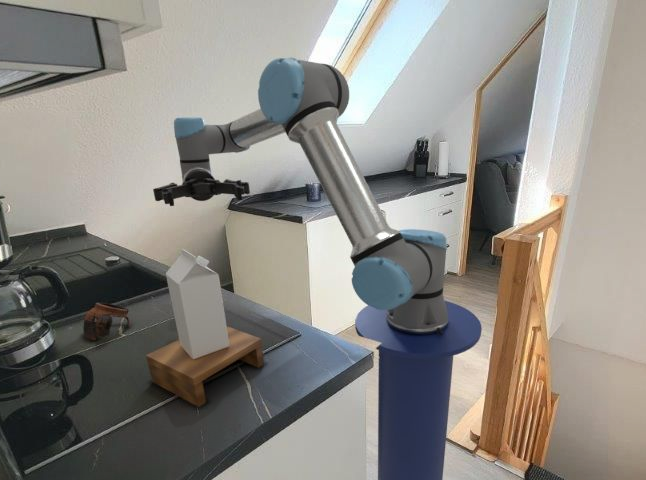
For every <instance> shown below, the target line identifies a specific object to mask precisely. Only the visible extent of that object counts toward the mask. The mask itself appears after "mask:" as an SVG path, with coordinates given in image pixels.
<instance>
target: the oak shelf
mask: <svg viewBox="0 0 646 480" xmlns="http://www.w3.org/2000/svg"><path fill="white" fill-rule="evenodd" d="M227 332H228V339H229V347H227V348H224V349H221V350H218V351H216V352H213V353H210V354H207V355H204V356H202V357H199V358H196V359H192V358H191V357H190V356H189V354H188V353H187V352H186V351H185V350H184V349H183V348H182V347H181V345H180V341H179V339H176V340H174V341H173V342H171V343H169V344H167V345H164V346H162V347H161V348H159V349H156V350H154V351H152V352H150V353H147V354H146V355H145V358H146V362H147V365H148V371H149V374H150V377H151V381H152V383H153V384H155V385H157V386H159V387H160V388H163V389H165V390H166V391H168V392H169V393H172V394H174V395H175V396H177V397H179V398H181V399H183V400H185V401H186V402H188V403H191V404H192V405H194V406H196V407H198V408H200V407H201V406H203V405H204V404H206V403H207V399H206V395H205V394H206V393H205V389H204V383H203V381H205V380H207V379H208V378H209V377H211V376H213V375H214V374H216V373H218V372H220V371H221V370H223V369H225V368H226V367H228V366H229V365H231V364H233V363H234V362H237V361H238V360H239V361H241V362H243V363H246V364H249V365H251V366H252V367H253V366H254V367H256V368H260V367H262V366H264V365H265V361H264V352H263V343H262V338H261V337H258V336H255V335H252V334H249V333H246V332H243V331H240V330H238V329H236V328H234V327H233V328H232V327H231V326H227Z"/></svg>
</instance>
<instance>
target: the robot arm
mask: <svg viewBox="0 0 646 480" xmlns="http://www.w3.org/2000/svg"><path fill="white" fill-rule="evenodd" d="M345 77H346V76H344V74H342V72H341V71H340V70H339V69H338V68H336V67H335V66H333V65H331V64H327V63H320V62H314V61H308V60H304V59H297V58H295V57H288V58H287V57H279V58H275V59H273V60H272V61H270V62H268V64H267V65H266V66H265V67H264V69H263V71H262V73H261V75H260V77H259V82H258V84H259V85H258V89H257V97H258V104H259V107H260V108H259V109H256V110H254V111H252V112H249V113H247V114H245V115H243V116H241V117H239V118H237V119H234V120H233V121H230V122H228V123H226V124H205V120H204V118H203V117H177V118H175V119H174V120H173V129H174V131H173V132H174V138H175V142H176V146H177V151H178V157H179V167H180V172H181V178H182V183H181V184H179V185H178V183H176V182H171V183H169V184H166V185H162V186H159V187H155V188H152V191H153V196H154V200H155V202H160V201H164V205H169V207H175V200H177V199H181V198H184V197H185V198H191V199H193V200H195V201H197V202H206V201H209V200H211V199H212V198H213V197H214V196H220V195H222V194H223V195H234V197H235V198H236V199H237V201H243V195H250V194H251V191H250V184H249V182H248V181H242V180H241V179H239V180H238V179H237V180H231V179H228V178H226V179H224V180H223V182H222V181H220V180H219V179H215V177H214V176H213V174H212V168H211V162H210V161H211V160H210V155H217V154H230V153H236V154H238V153H242V152H245V151H249V149H250V148H251V146H254V145H257V144H258V143H261V142H264V141H266V140H269V139H272V138H275V137H277V136H280V135H283V134H285V135H286V136H287V138H288V140H289V141H290V142H292V143H294V144H295V143H296V144H299V145H300V147H301V149H302V151H303V153H304V155H305V157H306V159H307V161H308V163H309V164H310V166H311V169H312V171H313V173H314V175H315V176H316V178H317V180H318V182H319V184H320V186H321V187H322V190H323V192H324V193H325V197H327V200H328V201H329V203H330V205H331V207H332V209H333V211H334V213H335V215H336V217H337V219H338V221H339V223H340V225H341V226H342V229H343V230H344V232H345V234H346V236H347V238H348V240H349V242H350V244H351V246H352V247H351V248H352V249H351V253H350V256H349V258H350V260H351V262H352V265H353V266H354V268H353V269H352V271H351V275H352V277H351V285H352V288H353V290H354V292H355V295H356V296H357V297H358V298H359V299H360V300H361V301H362V302H363V303H364V304H366V306H368V305H369V306H370V307H374V308H376V309H378V310H387V315H386V321H387V324H388V325H389V326H390V327H391V328H392V329H394V330H396V331H398V332H400V333H404V334H408V335H415V336H426V335H433V334H437V333H440V335H443V334H444V333H443V332H442V331H443V330H445V329H446V328H447V326H448V321H449V315H448V311H447V308H446V304H445V301H446V300H445V298H444V285H445V283H444V282H445V273H446V272H445V271H446V261H447V260H446V259H447V250H448V247H447V237H446V235H445V234H443V233H441V232H439V231H434V230H428V229H416V228H415V229H414V228H410V229H409V228H408V229H407V228H406V229H400V230H397V229H395V228H392V227H390V225H389V224H388V222H387V219H386V218H385V215H384V214H383V212H382V209H381V208H380V206H379V204H378V202H377V200H376V198H375V196H374V194H373V192H372V190H371V189H370V186H369V184H368V183H367V181H366V178H365V177H364V175H363V173H362V171H361V169H360V166H359V165H358V163H357V161H356V159H355V157H354V155H353V152H352V151H351V149H350V147H349V145H348V143H347V142H346V140H345V139H346V138H345V137H344V136H343V133H342V131H341V129H340V127H339V125H338V120H339V118H340V117H341V116H343V114H344V113H345V112H346V110H347V107H348V105H349V101H350V87H349V84H348V81H347V79H346V78H345ZM444 300H445V301H444Z"/></svg>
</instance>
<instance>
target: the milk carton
mask: <svg viewBox="0 0 646 480" xmlns="http://www.w3.org/2000/svg"><path fill="white" fill-rule="evenodd" d="M180 251H181V254H180V255H179V257H177V260H175V262H174V263H173V264H172V265H171V267H170V268H169V269H167V271H166V272H165V276H166V281H167V288H168V291H169V298H170V301H171V306H172V312H173V316H174V321H175V325H176V331H177V335H178V340H179V341H180V345H181V347H182V348H183V349H184V350H185V351H186V352H187V353H188V354H189V356H190V357H191V358H192V359H196V358H199V357H202V356H204V355H207V354H210V353H213V352H216V351H218V350H221V349H224V348H227V347H229V339H228V332H227V327H228V325H227V319H226V314H225V307H224V301H223V294H222V293H223V292H222V287H221V280H220V275H219V273H217V272H216V271H214V270H213V269H211V268H209V267H208V265H209V263H210V260H208V259H206V258H205V257H203V256H200V255H198V256H195V255H194V254H192V253H191V252H189V251H187V250H186V249H184V248H183V247H182V248H180Z"/></svg>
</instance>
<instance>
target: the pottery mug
mask: <svg viewBox="0 0 646 480" xmlns="http://www.w3.org/2000/svg"><path fill="white" fill-rule="evenodd" d="M129 311H130V310H129V309H128V308H126V307H124V306H120V305H116V304H112V303H107V302H95V305H94V307H92V308H91V309H90V310H88V311H87V313H86V314H85V317H84V320H83V326H82V329H83V337H84V338H86V339H87V340H92V341H97V336H98V337H100V338H103V337H108V336H109V335H110V332H111V327H112V325H113V324H112V323H113V321H114V320H113V317H115V318H124V319H126V321H127V322H126V327H127V328H129V327H130V326H131V319H130V316H129V315H128V313H129Z"/></svg>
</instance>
